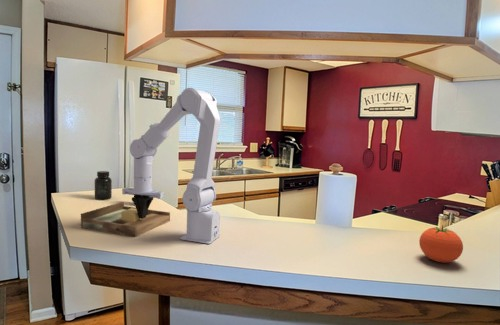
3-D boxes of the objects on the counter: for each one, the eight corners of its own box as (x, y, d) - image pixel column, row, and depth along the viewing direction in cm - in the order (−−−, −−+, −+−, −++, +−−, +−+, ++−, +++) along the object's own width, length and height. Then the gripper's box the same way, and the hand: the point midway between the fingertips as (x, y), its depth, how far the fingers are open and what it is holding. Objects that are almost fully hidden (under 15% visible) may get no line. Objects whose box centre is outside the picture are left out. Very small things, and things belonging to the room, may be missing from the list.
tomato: (445, 254, 93) (448, 220, 92) (470, 269, 83) (474, 232, 82) (410, 253, 93) (413, 219, 92) (431, 268, 82) (435, 230, 81)
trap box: (169, 220, 113) (170, 208, 113) (135, 237, 95) (135, 222, 95) (122, 213, 120) (122, 201, 119) (81, 227, 101) (80, 213, 101)
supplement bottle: (98, 196, 145) (98, 170, 144) (113, 197, 146) (113, 171, 145) (91, 200, 139) (91, 172, 137) (108, 200, 139) (108, 173, 138)
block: (143, 218, 108) (143, 209, 108) (134, 221, 104) (134, 213, 103) (131, 216, 110) (131, 208, 109) (121, 219, 105) (121, 211, 105)
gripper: (169, 177, 106) (168, 217, 107) (132, 173, 110) (131, 212, 111) (156, 180, 99) (156, 223, 100) (117, 176, 103) (117, 217, 105)
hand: (142, 217), depth 105 cm, fingers closed
